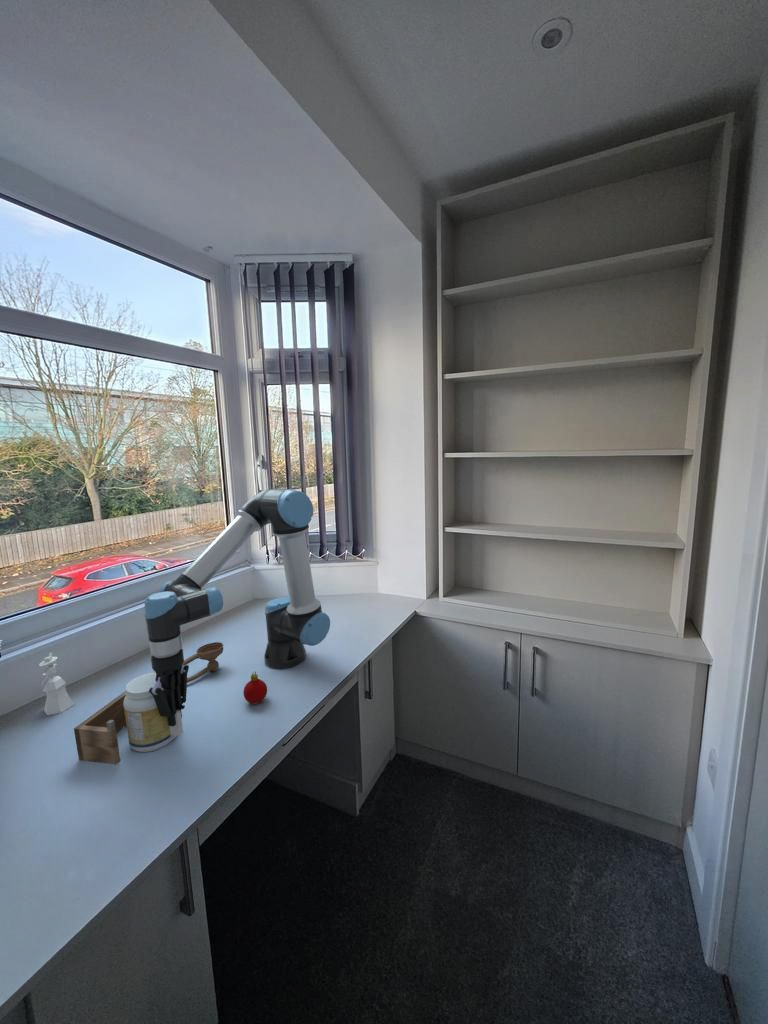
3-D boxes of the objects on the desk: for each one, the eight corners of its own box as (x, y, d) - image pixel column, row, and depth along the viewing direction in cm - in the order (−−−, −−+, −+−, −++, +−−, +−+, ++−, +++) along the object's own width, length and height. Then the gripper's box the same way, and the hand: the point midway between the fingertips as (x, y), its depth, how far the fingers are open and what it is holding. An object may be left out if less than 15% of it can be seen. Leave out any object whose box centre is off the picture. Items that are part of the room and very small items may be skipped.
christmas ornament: (258, 710, 127) (256, 679, 126) (239, 706, 130) (236, 675, 128) (272, 697, 134) (270, 667, 133) (254, 693, 136) (251, 664, 135)
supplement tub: (148, 723, 123) (140, 669, 120) (188, 724, 122) (181, 669, 119) (118, 753, 111) (110, 694, 108) (163, 755, 110) (155, 694, 107)
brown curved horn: (149, 687, 145) (191, 694, 137) (145, 663, 144) (186, 668, 136) (203, 655, 167) (241, 659, 159) (199, 634, 166) (238, 637, 158)
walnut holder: (169, 715, 127) (164, 680, 125) (115, 764, 107) (109, 723, 105) (137, 712, 129) (132, 677, 127) (78, 760, 109) (72, 719, 107)
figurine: (47, 705, 134) (38, 652, 132) (77, 698, 137) (69, 646, 135) (39, 717, 128) (29, 662, 125) (71, 710, 131) (62, 656, 128)
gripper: (170, 639, 118) (179, 717, 121) (135, 663, 105) (147, 749, 109) (194, 641, 117) (203, 719, 120) (162, 664, 104) (173, 751, 107)
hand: (176, 733), depth 114 cm, fingers closed
